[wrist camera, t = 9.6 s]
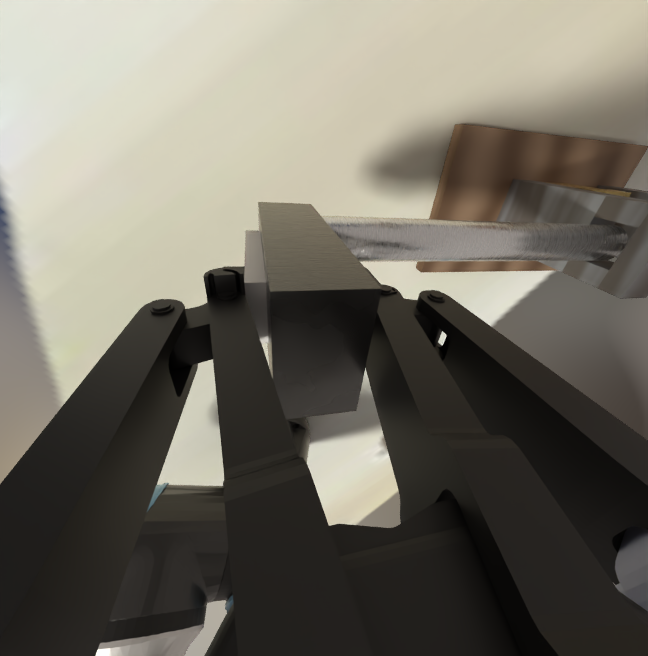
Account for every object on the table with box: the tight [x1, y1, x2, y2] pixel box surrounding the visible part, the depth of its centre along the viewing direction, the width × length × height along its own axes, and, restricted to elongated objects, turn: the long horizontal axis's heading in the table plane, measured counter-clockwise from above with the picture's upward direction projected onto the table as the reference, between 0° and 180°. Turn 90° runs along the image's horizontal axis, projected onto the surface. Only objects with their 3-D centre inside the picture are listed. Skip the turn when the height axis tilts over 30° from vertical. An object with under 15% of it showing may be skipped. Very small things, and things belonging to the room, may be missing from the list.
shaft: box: [258, 202, 628, 419], centre depth 17 cm, size 30×5×14 cm, turn 85°
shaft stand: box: [416, 124, 648, 299], centre depth 30 cm, size 26×16×18 cm, turn 85°
